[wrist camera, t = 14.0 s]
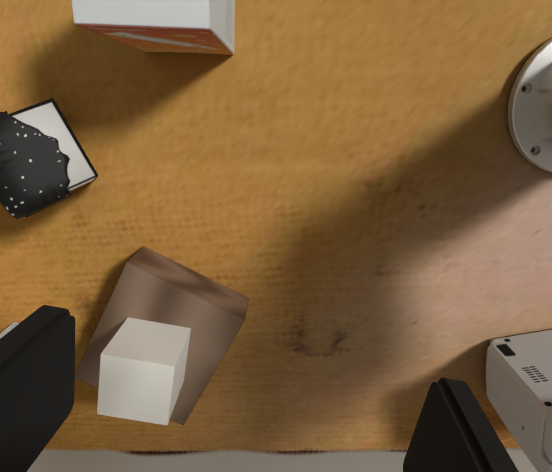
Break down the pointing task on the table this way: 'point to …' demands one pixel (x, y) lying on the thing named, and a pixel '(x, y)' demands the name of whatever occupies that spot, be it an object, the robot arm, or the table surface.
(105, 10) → the small box
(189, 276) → the walnut block
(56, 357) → the robot arm
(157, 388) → the white cube
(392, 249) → the table surface
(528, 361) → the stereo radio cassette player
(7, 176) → the black and white piece
